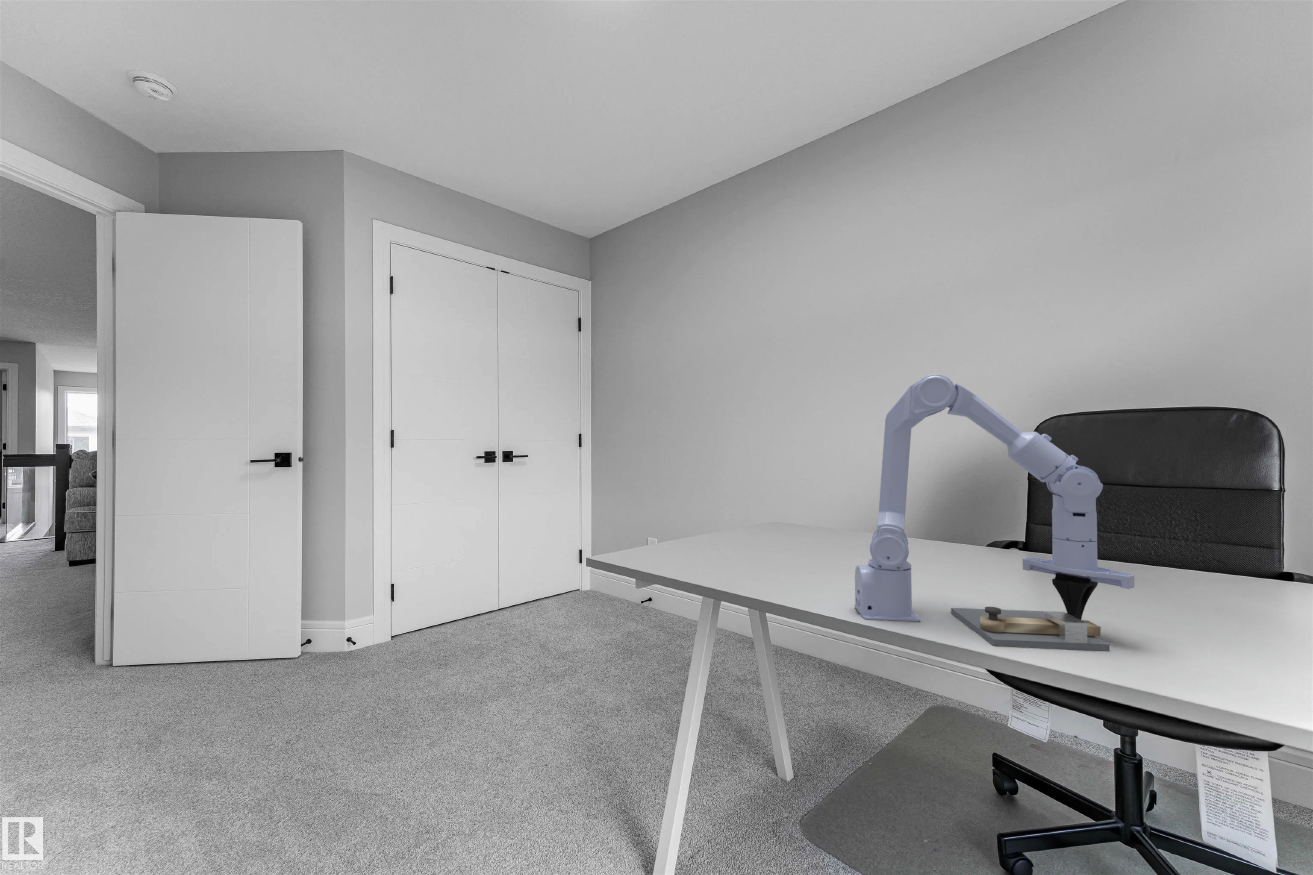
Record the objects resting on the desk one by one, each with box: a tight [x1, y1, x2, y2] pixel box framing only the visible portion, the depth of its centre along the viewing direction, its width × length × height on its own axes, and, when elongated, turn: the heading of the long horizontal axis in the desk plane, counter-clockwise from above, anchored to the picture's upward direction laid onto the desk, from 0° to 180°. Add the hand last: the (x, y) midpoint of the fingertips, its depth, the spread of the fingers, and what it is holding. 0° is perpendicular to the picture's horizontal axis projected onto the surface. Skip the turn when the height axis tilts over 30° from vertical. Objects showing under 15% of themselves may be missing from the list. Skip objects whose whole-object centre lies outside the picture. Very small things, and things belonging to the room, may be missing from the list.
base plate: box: [950, 607, 1111, 652], centre depth 88 cm, size 16×16×1 cm
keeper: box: [1043, 610, 1087, 643], centre depth 82 cm, size 3×6×3 cm, turn 172°
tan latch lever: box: [980, 606, 1102, 638], centre depth 84 cm, size 16×4×3 cm, turn 81°
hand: (1075, 623), depth 86 cm, fingers closed
